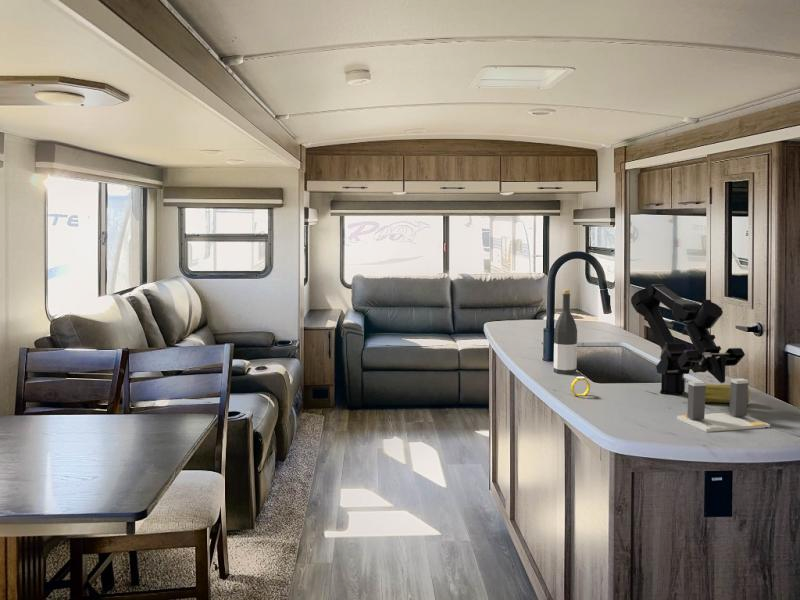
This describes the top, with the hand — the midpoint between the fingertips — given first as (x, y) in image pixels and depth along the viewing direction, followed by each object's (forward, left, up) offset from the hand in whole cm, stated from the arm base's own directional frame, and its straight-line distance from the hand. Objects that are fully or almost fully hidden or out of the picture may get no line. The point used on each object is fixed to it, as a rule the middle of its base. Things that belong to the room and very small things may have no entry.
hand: (723, 382), depth 208 cm
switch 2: (+4, -5, -8) cm, 10 cm away
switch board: (+1, -11, -9) cm, 14 cm away
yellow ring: (-41, +2, -9) cm, 42 cm away
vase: (+6, +13, -6) cm, 16 cm away
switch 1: (-6, -14, -8) cm, 17 cm away
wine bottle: (-55, +35, -9) cm, 66 cm away
